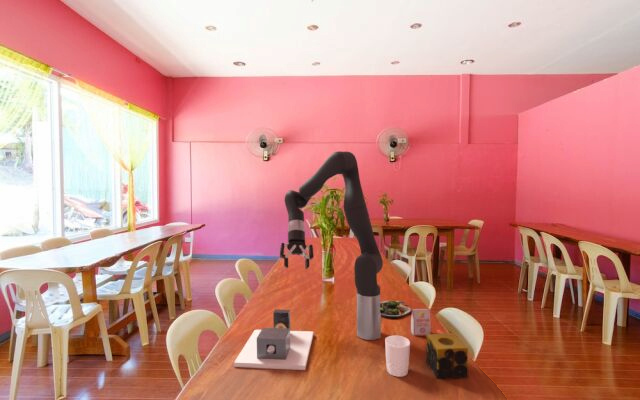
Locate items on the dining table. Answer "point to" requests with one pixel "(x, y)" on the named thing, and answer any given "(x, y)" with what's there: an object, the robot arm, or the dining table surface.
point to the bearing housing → (273, 343)
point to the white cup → (397, 355)
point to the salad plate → (393, 309)
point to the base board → (294, 360)
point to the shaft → (280, 324)
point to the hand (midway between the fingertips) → (296, 268)
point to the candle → (447, 356)
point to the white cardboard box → (420, 322)
